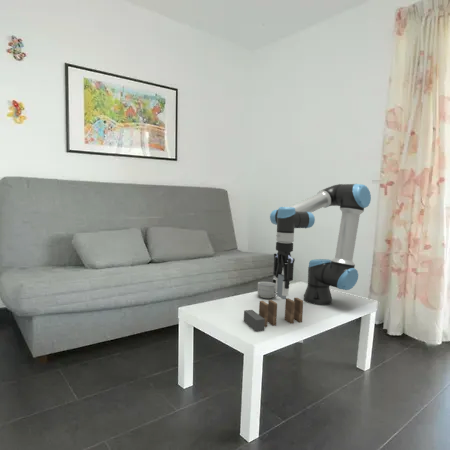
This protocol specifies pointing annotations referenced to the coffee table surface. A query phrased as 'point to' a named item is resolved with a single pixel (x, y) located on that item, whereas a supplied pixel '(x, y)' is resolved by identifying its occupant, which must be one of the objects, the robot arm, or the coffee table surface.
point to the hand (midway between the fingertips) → (281, 293)
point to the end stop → (254, 320)
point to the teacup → (266, 289)
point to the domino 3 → (280, 286)
